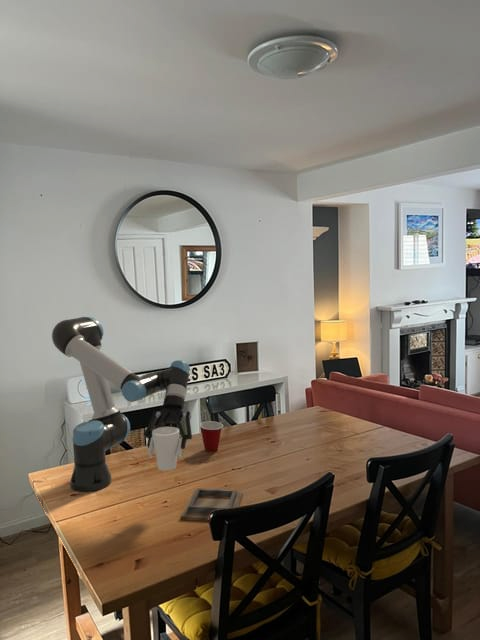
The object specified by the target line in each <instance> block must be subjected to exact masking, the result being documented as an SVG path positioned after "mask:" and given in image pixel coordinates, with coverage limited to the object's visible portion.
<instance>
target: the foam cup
mask: <svg viewBox="0 0 480 640" xmlns="http://www.w3.org/2000/svg"><path fill="white" fill-rule="evenodd" d="M153 429H154V428H153ZM153 429H152V430H153ZM180 438H181V437H180V430H179V428H178V427H176V426H175V427H174V426H163V427H160V428H156V429H154V430H153V431H152V439H153V442H154V453H155V460H156V463H157V464H156V466H157V469H158V470H159V471H165V472H167V471H172V470H174V469H176V468H177V463H178V462H177V460H178V457H177V451H178V445H179V439H180Z"/></svg>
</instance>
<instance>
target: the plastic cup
mask: <svg viewBox="0 0 480 640" xmlns="http://www.w3.org/2000/svg"><path fill="white" fill-rule="evenodd" d="M199 428H200V433H201V436H202V437H201V438H202V442H203V445H204V446H203V447H204V450H205V452H207V453H214V452H217V451H218V450H219V444H220V439H221V433H222V429H223V428H224V424H222V423H221V422H218V421H211V420H209V421H202V422H200V423H199Z"/></svg>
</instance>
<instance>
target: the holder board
mask: <svg viewBox="0 0 480 640" xmlns="http://www.w3.org/2000/svg"><path fill="white" fill-rule="evenodd" d="M243 496H244V492H243V491H238V490H237V489H225V488H224V489H223V488H222V489H221V488H218V489H217V488H196V490H195V489H194V490H193V491H192V494H191V496H190V498H189V500H188V501H187V503H186V505H185V507H184V509H183V511H182V513H181V514H180V520H182V521H201V522H203V521H205V522H207V521H208V518H209V515H210V513H211V512H212V511H214V510H217V509H226V508H233V507H239V508H240V506H241V502H242V499H243ZM208 522H209V521H208Z"/></svg>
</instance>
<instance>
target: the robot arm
mask: <svg viewBox="0 0 480 640" xmlns="http://www.w3.org/2000/svg"><path fill="white" fill-rule="evenodd" d="M103 337H104V329H103V325H102V324H101V323H100V321H99V320H97V319H96V318H94V317H92V316H82V317H76V318H70V319H64V320H60V321H59V322H58V323H56V324H55V326H54V328H53V329H52V332H51V340H52V343H53V346H55V348H56V349H57V350H58V351H59V352H60V353H62V354H63V355H64V356H66V357H68V358H74V359H75V360H77V361H78V362H79V364H80V368H81V371H82V376H83V378H84V382H85V385H86V389H87V393H88V396H89V400H90V402H91V403H90V404H91V406H92V409H93V410H92V411H93V415H92V417H91V420H88V421H83V422H80V423H79V424H78V425H76V426H75V427H74V428H73V430H72V447H73V449H72V451H73V460H74V461H73V462H74V467H73V471H72V473H71V478H70V488H71V489H72V490H74V491H76V492H85V493H87V492H94V491H98V490H102V489H103V488H104V489H105V488H106V487H108V486H109V485H110V484H111V483H112V476H111V473H110V469H109V467H108V464H107V461H106V460H107V459H106V451H108V450H110V449H112V448H114V447H115V446H118V445H121V443H123V442H124V441H125V440H126V439H127V438H128V437H129V435H130V432H131V423H130V421H129V419H128V417H127V416H125V414H123V413H121V410H120V408H118V407H117V406H115V402H114V399H113V394H112V392H111V388H110V384H109V383H111V384H112V385H113V386H115V387H117V388H118V389H119V390H121V393H122V396H123V398H124V399H125V400H126V401H128V402H131V403H134V402H137V401H141V400H143V399H144V398H147V397H148V396H152V395H154V394H156V393H158V392H161V391H165V394H164V399H163V405H162V408H161V410H160V411H157V410H153V411H152V416H151V418H150V419H149V420H150V421H149V423H148V425H147V427H146V428H145V430H144V433H143V435H144V437H145V439H147V444H146V447H147V448H148V450H147V456H148V457H149V459H152V458H153V452H154V450H155V448H154V442H153V439H152V431H153V430H154V429H156V428H160V427H165V426H166V425H167V424H176V426H177V428H178V429H179V434H180V435H181V437H180V438H179V443H178V451H177V460H181V458H182V451H183V450H185V448H186V446H187V445H186V444H187V441H188V440H192V439H193V435H192V426H191V418H192V414H191V412H190V411H186V412H184V407H185V400H186V395H187V389H188V388H187V387H188V383H189V379H190V378H189V377H190V369H191V368H190V364H189V363H188V362H186V361H184V360H178V359H177V360H174V361H172V362H171V364H170V366H169V368H168V369H167V368H166V369H163V370H157V371H154V372H149V373H146V374H145V373H144V374H143V375H142V376H139V375H137V374H135V373H134V372H133V371H131V370H130V369H128V368H127V367H124V365H122V364H121V363H119V362H118V361H116V360H114V359H113V358H111V357H110V356H109V355H107V354H105V353H104V352H103V351H101V348H102V347H103V345H102V342H101V341H102V340H103ZM160 417H161V418H160ZM183 417H184V419H185V426H186V433H187V434H185V432H184V429H183V426H182V424H181V421H180V420H181V419H182V418H183ZM159 418H160V419H159ZM158 419H159V421H158V422H157V420H158ZM156 423H157V424H156Z"/></svg>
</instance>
